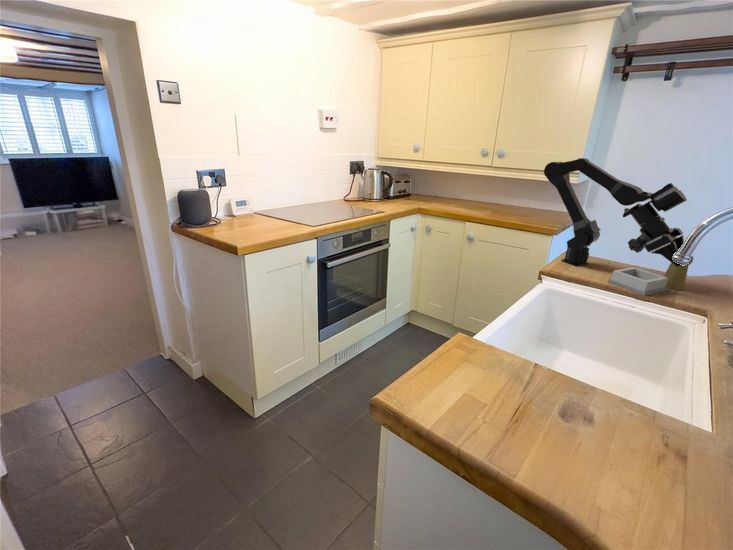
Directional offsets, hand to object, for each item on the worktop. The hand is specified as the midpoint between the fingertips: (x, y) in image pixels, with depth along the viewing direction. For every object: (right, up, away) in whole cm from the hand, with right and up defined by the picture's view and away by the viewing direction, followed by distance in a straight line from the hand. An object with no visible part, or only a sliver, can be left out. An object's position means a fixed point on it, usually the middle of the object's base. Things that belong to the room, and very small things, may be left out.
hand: (682, 262), depth 108 cm
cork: (0, -8, +3) cm, 8 cm away
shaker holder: (-12, -7, +3) cm, 14 cm away
